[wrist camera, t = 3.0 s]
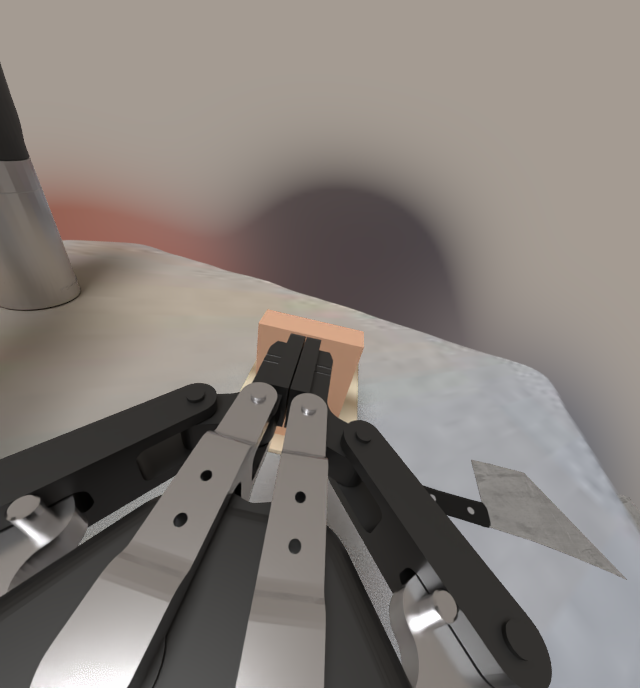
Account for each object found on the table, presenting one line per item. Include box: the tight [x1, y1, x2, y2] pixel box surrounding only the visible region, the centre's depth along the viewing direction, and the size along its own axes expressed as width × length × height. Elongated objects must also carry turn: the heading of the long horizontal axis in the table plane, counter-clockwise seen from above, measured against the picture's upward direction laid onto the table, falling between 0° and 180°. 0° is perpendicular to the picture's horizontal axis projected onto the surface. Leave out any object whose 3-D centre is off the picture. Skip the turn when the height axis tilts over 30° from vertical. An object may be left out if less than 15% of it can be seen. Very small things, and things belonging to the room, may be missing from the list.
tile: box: [256, 309, 364, 436], centre depth 24 cm, size 2×8×13 cm, turn 82°
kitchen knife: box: [423, 460, 640, 580], centre depth 27 cm, size 29×1×10 cm
